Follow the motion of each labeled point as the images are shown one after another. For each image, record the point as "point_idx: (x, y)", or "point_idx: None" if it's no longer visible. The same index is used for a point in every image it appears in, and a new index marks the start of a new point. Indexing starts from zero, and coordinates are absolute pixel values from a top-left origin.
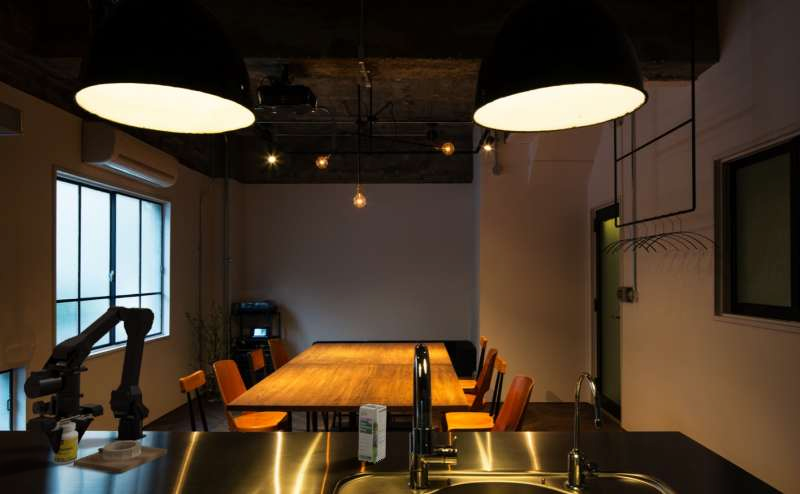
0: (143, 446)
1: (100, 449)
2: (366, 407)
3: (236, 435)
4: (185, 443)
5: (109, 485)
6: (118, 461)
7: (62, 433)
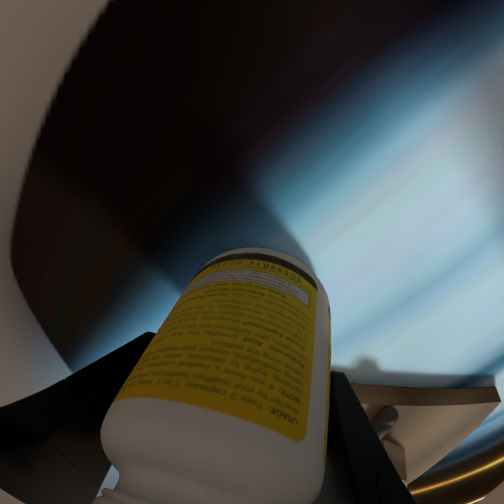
0: (433, 463)
1: (377, 426)
2: None
3: (489, 483)
4: (470, 469)
5: None
6: None
7: (94, 497)
